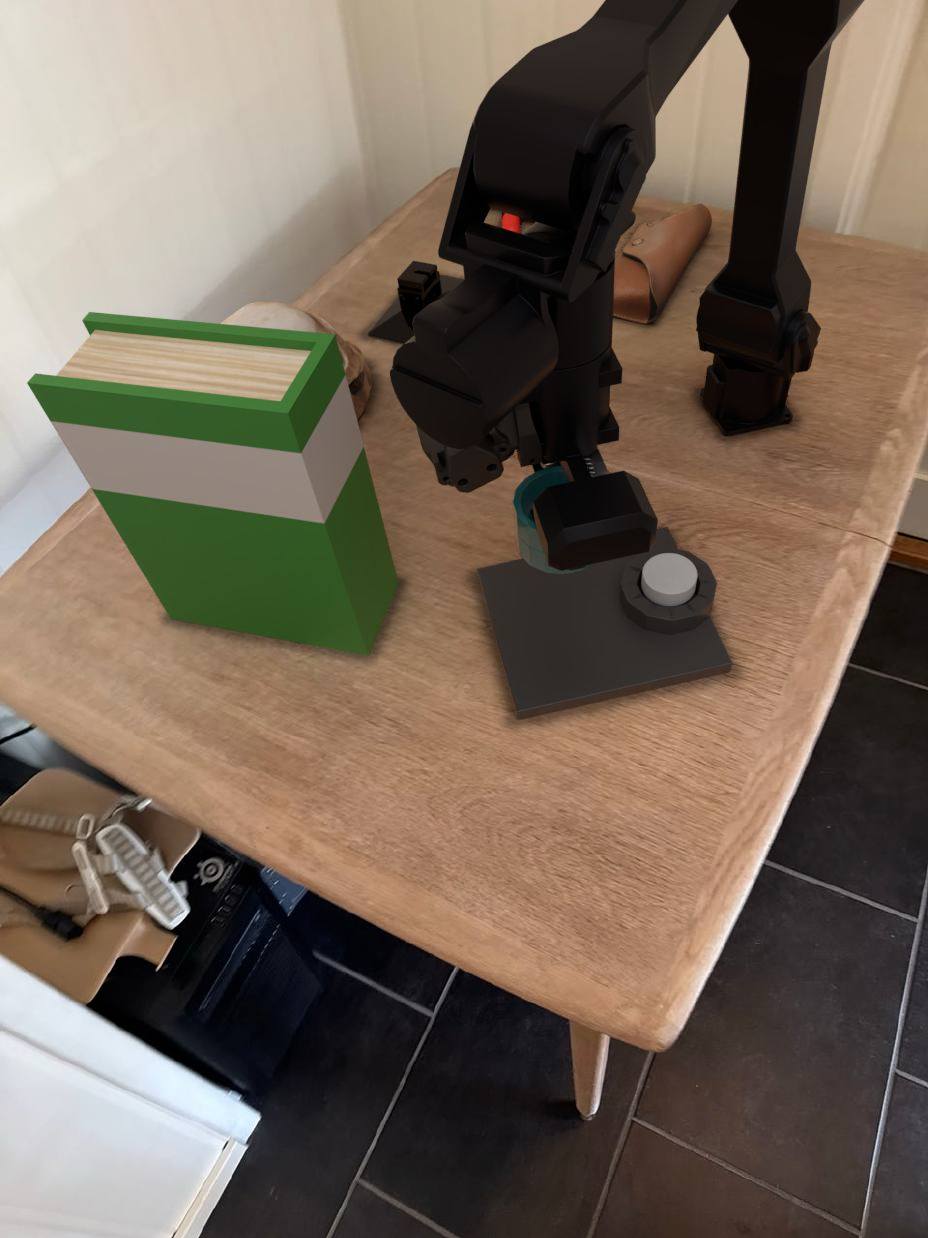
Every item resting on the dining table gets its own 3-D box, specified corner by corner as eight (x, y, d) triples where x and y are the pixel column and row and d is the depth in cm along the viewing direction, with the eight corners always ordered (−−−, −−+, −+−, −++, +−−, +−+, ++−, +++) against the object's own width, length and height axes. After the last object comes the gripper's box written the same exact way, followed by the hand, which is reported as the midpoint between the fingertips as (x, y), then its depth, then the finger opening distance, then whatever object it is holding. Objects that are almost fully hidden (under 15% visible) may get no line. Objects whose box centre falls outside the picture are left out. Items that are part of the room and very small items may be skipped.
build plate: (425, 350, 92) (418, 311, 88) (365, 337, 94) (356, 298, 90) (476, 283, 98) (472, 244, 94) (419, 273, 100) (413, 234, 97)
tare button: (684, 561, 67) (686, 547, 66) (703, 600, 65) (705, 587, 64) (634, 572, 67) (635, 559, 66) (651, 612, 65) (652, 599, 64)
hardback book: (170, 618, 73) (26, 382, 54) (210, 552, 77) (89, 311, 58) (368, 655, 68) (287, 413, 49) (398, 583, 72) (335, 334, 53)
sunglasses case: (638, 219, 101) (671, 173, 95) (686, 256, 102) (722, 213, 96) (580, 307, 92) (613, 262, 86) (634, 347, 93) (670, 305, 87)
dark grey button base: (677, 533, 73) (680, 508, 70) (743, 669, 64) (749, 646, 62) (477, 577, 72) (474, 553, 70) (517, 721, 63) (514, 699, 61)
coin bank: (368, 351, 92) (336, 239, 80) (388, 475, 83) (356, 369, 71) (222, 383, 92) (170, 276, 81) (227, 510, 83) (169, 410, 72)
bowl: (592, 504, 63) (593, 457, 59) (618, 567, 59) (620, 521, 56) (508, 522, 63) (504, 476, 59) (528, 587, 59) (525, 542, 55)
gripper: (390, 276, 53) (425, 466, 66) (445, 483, 42) (475, 667, 54) (568, 239, 54) (570, 435, 66) (671, 435, 42) (650, 628, 55)
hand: (562, 532), depth 60 cm, fingers closed on bowl, 6 cm apart
